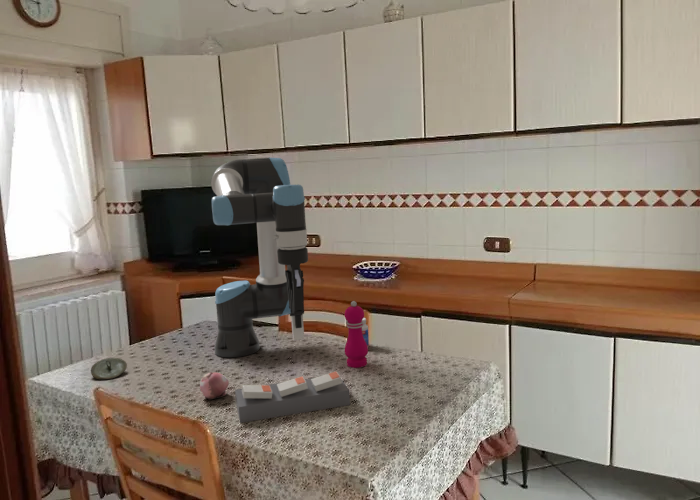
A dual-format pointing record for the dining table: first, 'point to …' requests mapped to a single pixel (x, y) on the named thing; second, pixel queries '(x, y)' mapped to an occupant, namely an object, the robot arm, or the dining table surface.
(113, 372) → the lid
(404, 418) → the dining table surface
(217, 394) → the onion
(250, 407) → the switch panel
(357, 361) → the pepper mill
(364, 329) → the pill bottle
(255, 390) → the rocker
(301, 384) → the rocker
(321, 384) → the rocker
